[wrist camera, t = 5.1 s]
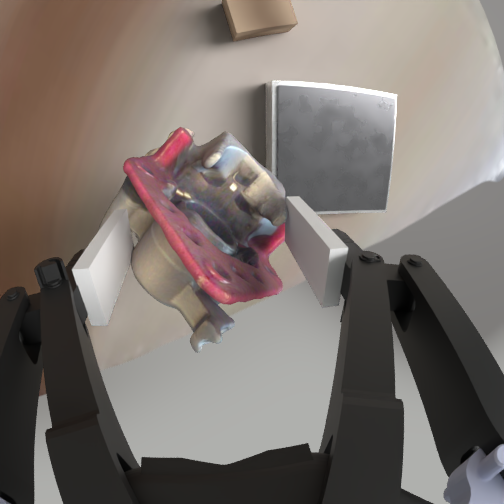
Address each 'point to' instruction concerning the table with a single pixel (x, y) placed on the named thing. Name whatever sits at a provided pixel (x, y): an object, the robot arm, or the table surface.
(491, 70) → the table surface
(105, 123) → the table surface
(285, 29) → the brown rectangular block
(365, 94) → the stand
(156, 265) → the brake caliper
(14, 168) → the table surface
